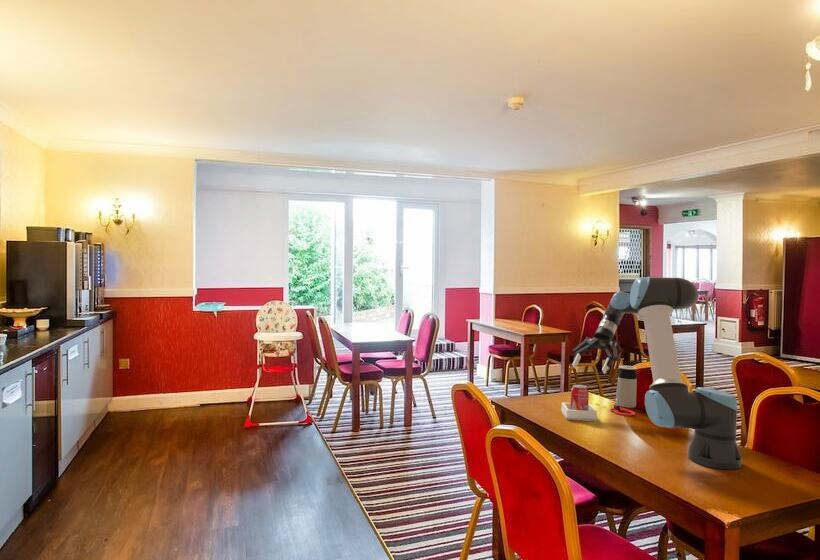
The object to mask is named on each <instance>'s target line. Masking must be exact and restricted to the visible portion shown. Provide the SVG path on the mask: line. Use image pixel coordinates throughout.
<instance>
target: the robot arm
mask: <svg viewBox="0 0 820 560" xmlns="http://www.w3.org/2000/svg"><path fill="white" fill-rule="evenodd" d="M699 294H700V293H699V290H698V287H697V286H696V285H695V284H694V283H693V282H692V281H690V280H688V279H687V278H682V277H664V276H663V277H659V276H658V277H655V276H652V277H651V276H646V277H645V276H643V277H642V276H641V277H640V276H639V277H636V279H635V280H634V281H633V283H632V285H631V288H630V294H629V293H628V292H624V291H617V292H615V293H614V294H613V295H612V298H611V299H610V302H609V303H608V306H607V307H606V309H605V312H604V313H603V316H602V318H601V320H600V322H599V324H598V327H597V329H596V331H595V333H594V335H593V338H590V337H589V336H586V337H585V339H583V341H582V342H581V343H579V344H578V345H577V346H575V347H574V348H573V349H572V353H573V354H574V355H573V356H574V357H573V362H572V364H571V365H572V367H573V369H577V367H578V364H579V363H580V360H581V358H582V356H583V355H585V354H587V353H588V352H591V351H593V350H601V351H603V350H604V351H605V352H606V354H607V356H608V357H606V359H605V362H604V364H603V366H602V369H601V371H602V373H603V374H604V375H605V374H607V371H608V369H609V368H610V367H611V366H612V364H613V362H615V361H616V362H618V361H619V355H618V349H617V346H618V343H617V340H616V339H615V340H613V338H614V336H615V334H616V331H617V329H618V326H619V325H620V322H621V320H622V319H623V316H624V315H625V314H637V315H638V316H639V317H640V318H642V319H643V324H644V331H645V338H646V343H647V350H648V355H649V356H648V357H649V362H650V370H651V374H652V375H651V376H652V384H650V385H649V390H647V391H646V393H645V395H644V407H645V411H646V414H647V416H648V418H649V420H650V421H651V422H652V423H653V424H654V425H655V426H657V427H662V428H667V429H672V428H676V429H677V428H678V429H679V428H680V429H694V434H693V437H692V439H691V441H690V444H689V446H688V449H687V457H688V459H690V460H691V461H692V462H694V463H696V464H699V465H701V466H705V467H708V468H709V467H710V468H714V469H718V470H719V469H720V470H737V469H738V470H739V469H740V468H741V467H742V465H743V464H742V456H741V453H740V451H739V447H738V444H737V424H738V423H737V420H738V419H737V418H738V400H737V398H736V397H735V395H733V394H731V393H729V392H725V391H722V390H718V389H714V388H711V387H710V388H709V387H703V386H701V387H699V386H698V387H696V388H695V392H694V391H693V392H691V391H689V386H688V384H687V383H686V382H684V381H683V380H682V375H681V370H680V365H679V359H678V355H677V348H676V341H675V338H674V333H673V332H674V331H673V327H672V326H673V325H672V322H671V314H673V312H674V310H684V309H685V310H686V309H690V308H691V307H693V306H694V305H696V303H698V300H699ZM610 345H611V348H612V354H613V356H612V354H611V352H610V350H609V349H608V347H609V346H610Z"/></svg>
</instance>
